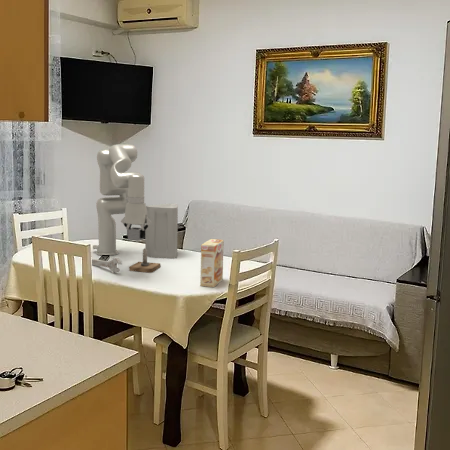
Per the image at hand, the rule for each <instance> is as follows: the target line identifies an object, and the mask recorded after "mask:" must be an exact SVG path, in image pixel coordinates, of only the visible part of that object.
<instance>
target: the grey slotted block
mask: <svg viewBox="0 0 450 450" xmlns="http://www.w3.org/2000/svg"><path fill="white" fill-rule="evenodd" d="M141 230H142V228H141V227H137V226H136V227H135V226H131V228H130V229H128V235H127V240H129V241H137V242H138V241H142V240H143V239H145V238H143V239H141Z"/></svg>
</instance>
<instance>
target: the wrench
mask: <svg viewBox="0 0 450 450" xmlns="http://www.w3.org/2000/svg"><path fill="white" fill-rule="evenodd" d="M91 259H92V264H93V265H92V266H96V267H104V268H108V269H109V270H110V271H111V272H112V273H111V274H113V273H114V274H117V273H119V272H120V271H121V269H120V268H119V267H118V266H119V265H122V261H121V259H120V258H119V257H113V258H112V259H111V260H109V261H107V260H103V259H96V258H91Z"/></svg>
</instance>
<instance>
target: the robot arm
mask: <svg viewBox="0 0 450 450" xmlns="http://www.w3.org/2000/svg"><path fill="white" fill-rule="evenodd" d="M137 158H138V149H137V147H136V146H135V145H134V144H129V143H128V144H126V143H123V144H121V143H120V144H118V143H117V144H113V145H111V146H110V147H109V148H108V149H101V150H99V151H98V152H97V154H96V160H97V161H96V162H97V165H98V169H99V193H100V194H101V195H102V196H104V197H101V198H99V199H97V201H96V202H95V203H96V211H97V221H98V224H97V226H98V227H97V228H98V245H96V244H94V245H93V244H92V249H93V250H96V251H95V254H96V255H98V256H102V255H110V257H111V256H116V255H118V254H120V251H119V250H118V249H117V223H116V220H115V219H114V217H112V215H124V217H123V218H122V219H121V220H120V222H121V224H122V225H123V226H124V227H125V229H126V236H128V229H130V228H132V227H133V225H136V226H140V228H142V230H141V239H142V240H143V238H144V239H145V230H146V229H147V228H148V227H149V226H150V225H151V224H152V222H151V221H150V220H149V219H148V218H147V209H146V206H147V204H146V203H145V176H144V175H143V174H141V173H140V172H136V171H135V172H134V171H133V172H132V171H130V172H127V171H128V170H130V169H131V167H132V163H133V162H136V160H137ZM106 196H107V197H106ZM145 223H147V225H145Z"/></svg>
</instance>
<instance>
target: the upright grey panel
mask: <svg viewBox="0 0 450 450" xmlns="http://www.w3.org/2000/svg"><path fill="white" fill-rule="evenodd" d="M178 207H179V204H178V203H173V202H171V203H164V204H163V203H162V204H160V203H159V204H151V205H146V209H147V218H148V219H149V220H150V221H151V222H152V224H151V225H150V226H149V227H148V228H147V229H146V230H145V238H144V239H145V240H144V242H145V246H144V248H146V249H147V258H154V259H168V260H169V259H171V260H172V259H173V260H174V259H177V258H178V217H179V216H178V214H179V213H178V211H179V209H178ZM145 225H147V223H145Z"/></svg>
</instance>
